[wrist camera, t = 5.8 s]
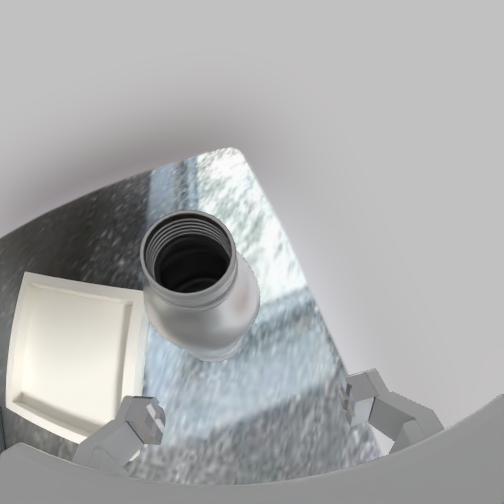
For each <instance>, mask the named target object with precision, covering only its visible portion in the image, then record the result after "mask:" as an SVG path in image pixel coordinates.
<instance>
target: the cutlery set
mask: <svg viewBox="0 0 504 504" xmlns="http://www.w3.org/2000/svg"><path fill="white" fill-rule="evenodd" d="M0 443H1V452H3V451H5V441H4V433H3V426H2V417H1V407H0Z"/></svg>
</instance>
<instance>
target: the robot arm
mask: <svg viewBox="0 0 504 504" xmlns="http://www.w3.org/2000/svg"><path fill="white" fill-rule="evenodd" d="M341 383H342V386H343V387H342V388H341V390H340V398H341V403H342V406H343V409H345V410H347V413H346V417H347V420H348V422H349V425H350V427H351V426H355V425H359V424H363V423H366V422H368V423H369V424H371V425H372V426H373V427H375V428H376V429H378V430H379V431H381V432H382V433H384V434H385V435H386V436H388V437H389V438H391V439H392V440H393V441H395V443H394V445H393V447H392V449H391V451H390V452H389V454H388V455H386V456H383V457H380V458H377V459H374V460H371V461H368V462H365V463H362V464H359V465H355V466H352V467H348V468H345V469H341V470H337V471H333V472H328V473H324V474H319V475H315V476H309V477H304V478H298V479H292V480H285V481H277V482H268V483H258V484H243V485H192V484H177V483H167V482H158V481H151V480H144V479H138V478H132V477H130V475H129V474H128V473H127V472H126V471H125V470H124V469H123V468H122V467H123V466H124V465H125V464H126V463H127V462H128V461H129V460H130V459H131V458H132V457H133V456H134V455H135V454H136V453H137V452H138V451H139V449H140V448H141V447H142V446H143V445H144V444H154V445H160V444H161V440H162V435H163V433H162V432H161V429H162V428H163V427H165V422H166V421H165V413H164V411H163V409H162V408H161V407H160V406H158V403H159V402H158V400H157V398H156V397H143V396H129V395H126V396H125V397H124V398H123V400H122V402H121V405H120V407H119V409H118V412H117V414H116V417H115V419H114V420H111V421H109V422H108V423H107V424H105V425H104V426H103V427H101V428H100V429H99V430H97V431H96V432H95V433H93V434H92V435H90V436H89V437H88V438H86V439H85V440H84V441H82V442H81V443H80V444H79V446H78V448H77V450H76V453H75V455H74V458H73V460H72V462H70V461H67V460H64V459H61V458H59V457H56V456H53V455H51V454H48V453H46V452H43V451H41V450H38V449H36V448H34V447H32V446H29V445H27V444H25V443H17V444H15V445H13V446H11V447H10V448H8V449H6V450H5V451H3V452H2V453H1V455H0V504H504V394H501V395H499V396H497V397H496V398H494V399H493V400H491V401H490V402H489V403H487V404H486V405H484V406H483V407H481V408H480V409H478V410H477V411H475V412H473V413H472V414H470V415H469V416H467V417H465V418H464V419H462V420H460V421H459V422H457V423H455V424H454V425H452V426H450V427H448V428H446V429H444V427H443V426H442V424H441V423H440V421H439V419H438V418H437V416H436V414H435V413H434V411H433V410H431V409H429V408H427V407H425V406H422V405H420V404H418V403H416V402H414V401H412V400H409V399H407V398H405V397H403V396H401V395H399V394H396V393H395V392H389V390H388V388H387V387H386V385H385V383H384V381H383V380H382V378H381V376H380V375H379V373H378V371H377V370H376V369H375V368H374V369H370V370H367V371H364V372H359V373H356V374H352V375H348V376H344V377H342V381H341Z"/></svg>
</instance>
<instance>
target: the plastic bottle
mask: <svg viewBox="0 0 504 504" xmlns="http://www.w3.org/2000/svg"><path fill="white" fill-rule="evenodd" d="M140 262H141V266H142V269H143V272H144V274H145V279H144V287H143V297H144V306H145V310H146V313H147V316H148V318H149V320H150V322H151V324H152V325H153V327H154V328H155V329H156V330H157V332H158V333H159V334H160V335H161V336H162V337H164V338H165V339H166V340H167V341H169V342H170V343H172V344H174V345H176V346H178V347H180V348H183V349H185V350H186V351H187V352H188V353H189V354H191V355H192V356H193V357H195V358H197V359H199V360H202V361H206V362H220V361H224V360H227V359H228V358H230V357H232V356H233V355H234V354H236V353H237V352H238V350H239V349H240V348H241V346H242V344H243V342H244V338H245V335H246V334H247V332H248V331H249V330H250V328H251V327H252V325H253V324H254V322H255V319H256V317H257V315H258V311H259V306H260V290H259V285H258V281H257V279H256V277H255V274H254V272H253V270H252V269H251V267H250V265H249V264H248V263H247V261H246V260H245V258H244V257H243V256H242V255H241V254H240V253H238V252H237V251H236V247H235V243H234V240H233V238H232V235H231V233H230V231H229V230H228V229H227V227H226V226H225V225H224V224H223V223H222V222H221V221H220V220H218V219H217V218H215V217H214V216H212V215H210V214H207V213H205V212H201V211H197V210H181V211H176V212H172V213H169V214H167V215H165V216H163V217H161V218H160V219H158V220H157V221H156V222H155V223H154V224H153V225H152V226H151V227H150V228H149V229H148V231H147V232H146V234H145V235H144V238H143V240H142V242H141V247H140Z"/></svg>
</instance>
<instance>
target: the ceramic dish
mask: <svg viewBox="0 0 504 504" xmlns="http://www.w3.org/2000/svg"><path fill="white" fill-rule="evenodd" d="M149 324H150V320H149V318H148V316H147V313H146V310H145V306H144V297H143V291H140V290H132V289H125V288H118V287H111V286H104V285H98V284H91V283H85V282H79V281H73V280H67V279H62V278H56V277H51V276H45V275H40V274H35V273H30V272H25V273H24V277H23V280H22V284H21V288H20V292H19V296H18V300H17V305H16V310H15V315H14V320H13V325H12V332H11V338H10V345H9V354H8V364H7V378H6V407H7V408H8V409H10V410H12V411H13V412H15V413H17V414H18V415H20V416H22V417H23V418H25V419H27V420H29V421H31V422H33V423H34V424H36V425H38V426H40V427H42V428H44V429H46V430H48V431H50V432H53V433H55V434H57V435H59V436H61V437H64V438H66V439H68V440H71V441H73V442H75V443H78V444H80V443H81V442H82V441H84V440H85V439H86V438H88V437H89V436H90V435H92V434H93V433H95V432H96V431H97V430H99V429H100V428H101V427H103V426H104V425H105V424H107V423H108V422H109V421H111V420H114V419H115V417H116V414H117V412H118V409H119V407H120V405H121V402H122V400H123V398H124V397H125V396H126V395H129V396H142V389H143V377H144V366H145V356H146V348H147V339H148V332H149ZM139 454H140V449H139V451H138V452H137V453H136V454H135V455H134V456H133V457H132V458H131V459H130V460H129V461H132V460H133V459H134V458H136V457H137V456H138V455H139Z"/></svg>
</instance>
